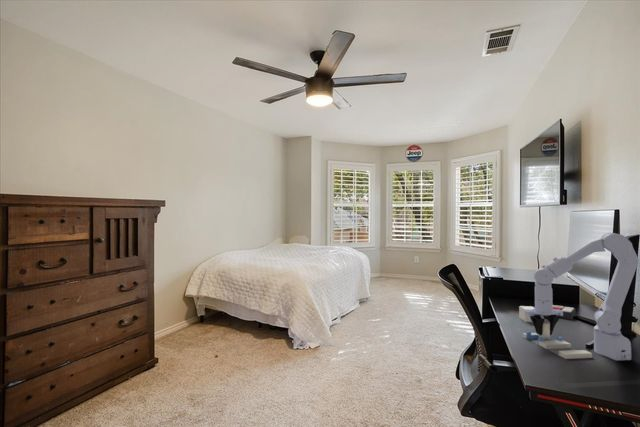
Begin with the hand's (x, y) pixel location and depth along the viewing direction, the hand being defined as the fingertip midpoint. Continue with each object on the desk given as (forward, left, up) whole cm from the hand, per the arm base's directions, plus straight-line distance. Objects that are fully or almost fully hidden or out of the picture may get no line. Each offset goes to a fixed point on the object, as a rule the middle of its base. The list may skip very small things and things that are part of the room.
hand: (544, 334), depth 122 cm
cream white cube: (+28, -16, -4) cm, 33 cm away
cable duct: (-5, 0, -4) cm, 6 cm away
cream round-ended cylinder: (0, 0, -2) cm, 2 cm away
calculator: (+36, -37, -4) cm, 52 cm away
